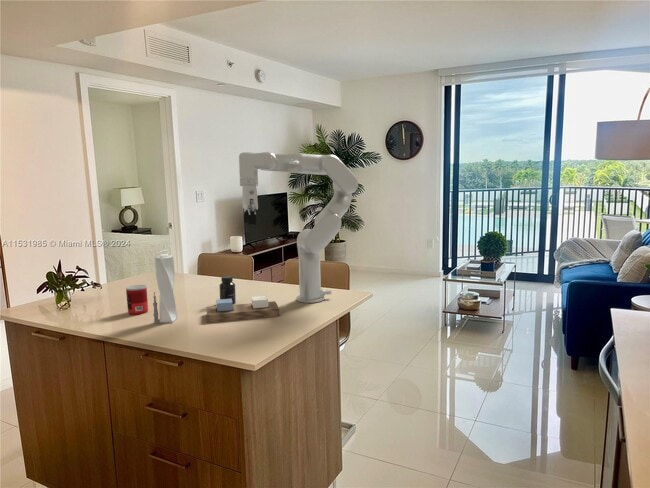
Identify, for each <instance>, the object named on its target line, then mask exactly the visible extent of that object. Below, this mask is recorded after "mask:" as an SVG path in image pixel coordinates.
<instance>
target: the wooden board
mask: <svg viewBox="0 0 650 488" xmlns="http://www.w3.org/2000/svg"><path fill="white" fill-rule="evenodd" d="M280 315H281V314H280V307H279V305H278V304H277V301H268V307H264V308H253V306H252V302H249V303H239V304H238V303H237V304H233V310H230V311H218V312H217V305H215V306H207V307H206V324H207V323H217V322H218V323H220V322H229V321H241V320H242V321H243V320H252V319H261V318H262V319H263V318H264V319H265V318H271V317H272V318H273V317H280Z"/></svg>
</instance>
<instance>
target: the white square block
mask: <svg viewBox="0 0 650 488" xmlns="http://www.w3.org/2000/svg"><path fill="white" fill-rule="evenodd" d="M268 302H269V299H268V297H267V296H266V295H262V296H259V295H258V296H251V303H252V306H253V308H264V307H268Z"/></svg>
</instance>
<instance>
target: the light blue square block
mask: <svg viewBox="0 0 650 488" xmlns="http://www.w3.org/2000/svg"><path fill="white" fill-rule="evenodd" d="M233 305H234V304H232V299H221V300H220V299H216V306H217V312H218V311H230V310H233Z"/></svg>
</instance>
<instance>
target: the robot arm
mask: <svg viewBox="0 0 650 488" xmlns="http://www.w3.org/2000/svg"><path fill="white" fill-rule="evenodd" d="M238 164H239V165H238V168H239V170H238V171H239V187H242V189H241V190H242V192H241V193H242V195H241V197H242V208H243V223H244V224H245V223H247V224H248V225H257V212H256V210H258V209H259V201H258V189H257V187H258V186H259V175H258V173H259V171H258V170H260V171H265V172H282V173H292V174H307V175H318V176H319V175H320V176H328V177H329V178H330V179H331V181H332V188H333V196H332V197H331V200H330V201H329V202H328V203H327V205H326V206H324V208H323V209H322V210H321V211H320V212H319V213H318V214H317V216H316V217H315V218H314V227H313V228H312V229H311V228H306V229H303V230H301V231H300V232H299V233H298V235H297V238H296V248H297V254H298V280H299V281H298V282H299V295H297V296H296V298H295V299H296V301H297V302H299V303H304V304H305V303H306V304H309V303H310V304H311V303H312V304H313V303H319V302H323V301H324V300H325V295H332V292H333V291H332V290H331V289H329V290H328V289H323V288H322V286H321V285H322V282H321V278H322V277H321V254H320V252H322V251H323V250H324V249H325V248H326V247H327V246H328V245H329V243H330V242H332V240H333V239H334V238H335V237H336V236H337V234H338V233H339V232H340V230H341V227H342V218H343V216H344V215H345V214H346V213H347V211H348V210H349V208H350V206H351V204H352V194H354V193H355V192H356V191H357V190H358V187H359V181H358V179H357V177H356V175H355V174H353V172H352V171H351V169H349V168H348V167H347V166H346V165H345V163H344V162H343V161H342V160H341V159H340V158H339V157H338V156H336V155H334V154H313V153H312V154H311V153H299V152H298V153H296V152H295V153H289V154H285V153H284V154H281V153H279V154H278V153H273V152H270V151H265V152H263V151H262V152H253V151H252V152H251V151H250V152H240V153H239V155H238Z"/></svg>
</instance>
